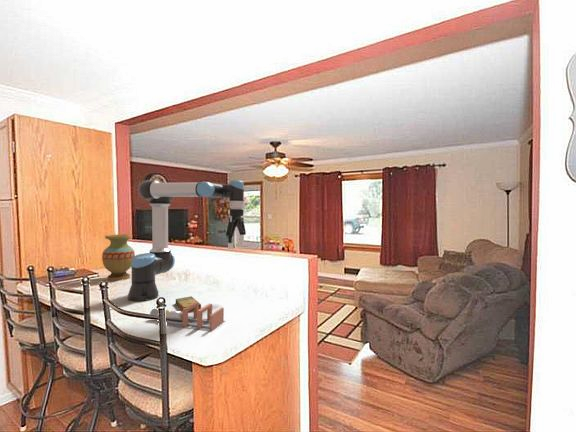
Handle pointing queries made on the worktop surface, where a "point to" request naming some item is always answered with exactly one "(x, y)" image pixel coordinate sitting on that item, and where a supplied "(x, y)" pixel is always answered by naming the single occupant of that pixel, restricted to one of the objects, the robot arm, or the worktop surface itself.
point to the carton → (186, 303)
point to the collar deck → (199, 318)
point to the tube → (170, 315)
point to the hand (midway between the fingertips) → (236, 247)
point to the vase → (118, 256)
